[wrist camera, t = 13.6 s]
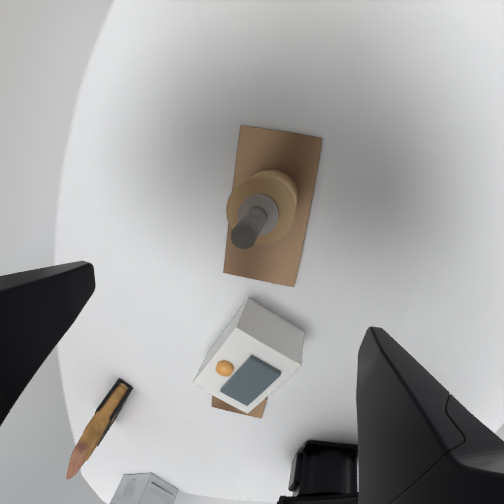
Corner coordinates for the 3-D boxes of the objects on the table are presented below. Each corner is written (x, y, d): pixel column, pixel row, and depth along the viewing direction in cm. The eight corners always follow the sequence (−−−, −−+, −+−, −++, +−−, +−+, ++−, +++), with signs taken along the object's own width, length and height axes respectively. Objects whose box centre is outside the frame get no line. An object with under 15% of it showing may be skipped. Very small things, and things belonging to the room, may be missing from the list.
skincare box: (149, 491, 43) (130, 530, 34) (123, 474, 42) (102, 513, 33) (180, 490, 40) (161, 536, 30) (152, 472, 38) (129, 519, 29)
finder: (304, 330, 23) (301, 369, 19) (256, 380, 26) (246, 417, 22) (248, 296, 23) (234, 331, 18) (207, 352, 25) (190, 387, 21)
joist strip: (322, 138, 17) (322, 138, 17) (261, 416, 27) (261, 418, 27) (241, 125, 18) (240, 125, 18) (212, 404, 28) (211, 406, 27)
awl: (301, 173, 18) (295, 199, 10) (293, 223, 19) (281, 285, 11) (250, 165, 19) (203, 185, 10) (244, 214, 20) (197, 269, 12)
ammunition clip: (119, 377, 29) (62, 456, 18) (133, 387, 29) (79, 468, 18) (103, 413, 34) (60, 475, 23) (114, 420, 34) (73, 484, 23)
